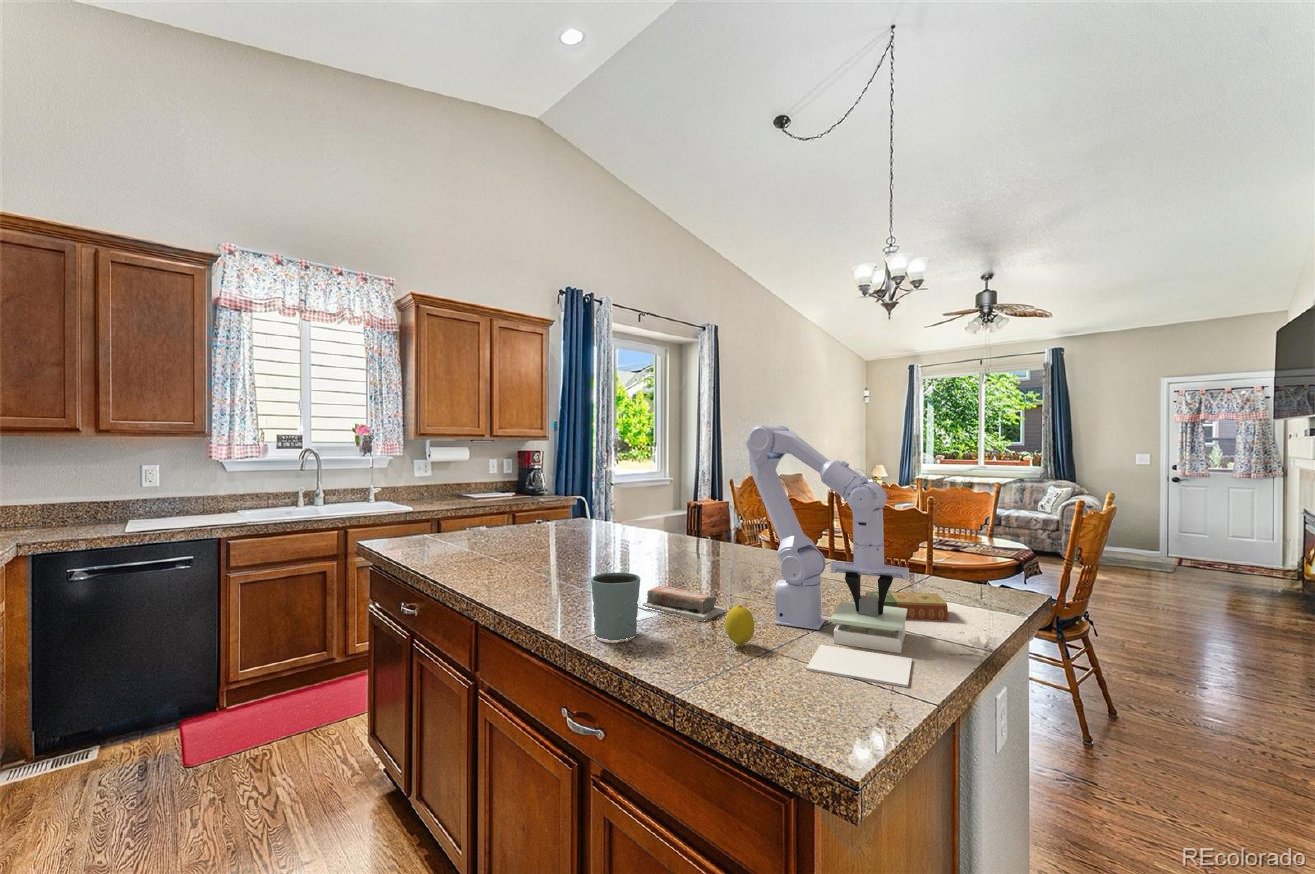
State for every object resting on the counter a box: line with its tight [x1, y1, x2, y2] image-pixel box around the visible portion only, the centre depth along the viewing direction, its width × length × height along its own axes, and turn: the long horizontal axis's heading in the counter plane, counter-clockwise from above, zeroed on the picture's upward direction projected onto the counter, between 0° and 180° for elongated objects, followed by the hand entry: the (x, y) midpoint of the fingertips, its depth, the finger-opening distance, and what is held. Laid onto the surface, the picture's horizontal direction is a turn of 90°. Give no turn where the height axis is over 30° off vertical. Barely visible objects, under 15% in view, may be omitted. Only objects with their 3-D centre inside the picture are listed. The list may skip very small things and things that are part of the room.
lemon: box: [724, 604, 755, 647], centre depth 107 cm, size 6×6×8 cm
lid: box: [829, 594, 907, 631], centre depth 110 cm, size 13×13×4 cm
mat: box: [805, 644, 913, 688], centre depth 97 cm, size 16×12×1 cm
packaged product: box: [642, 585, 727, 622], centre depth 131 cm, size 18×5×10 cm
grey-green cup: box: [590, 572, 641, 640], centre depth 114 cm, size 10×10×12 cm
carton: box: [864, 590, 949, 622], centre depth 126 cm, size 8×16×4 cm, turn 77°
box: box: [833, 623, 906, 654], centre depth 110 cm, size 12×12×2 cm
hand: (869, 611), depth 110 cm, fingers closed on lid, 3 cm apart
